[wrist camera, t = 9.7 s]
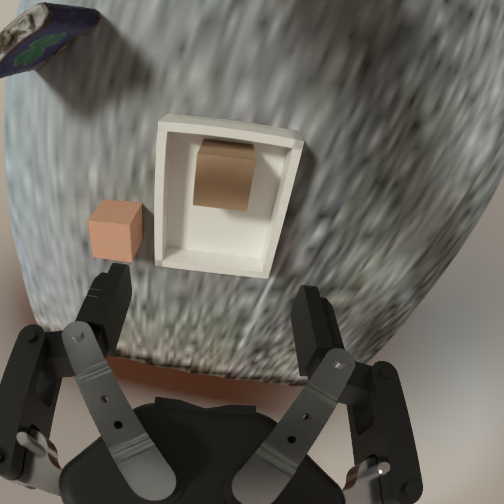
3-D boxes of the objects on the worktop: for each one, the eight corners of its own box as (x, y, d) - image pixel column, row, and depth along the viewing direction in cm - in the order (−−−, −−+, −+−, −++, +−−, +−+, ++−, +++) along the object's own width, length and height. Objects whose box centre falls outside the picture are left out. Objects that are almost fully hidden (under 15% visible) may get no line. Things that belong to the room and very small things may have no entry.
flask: (34, 74, 20) (-37, 96, 12) (26, 53, 18) (-46, 69, 10) (105, 23, 19) (39, 16, 10) (95, 0, 17) (29, -13, 8)
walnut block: (203, 138, 26) (197, 153, 22) (253, 144, 26) (255, 161, 22) (198, 183, 28) (192, 205, 25) (245, 188, 29) (246, 211, 25)
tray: (167, 113, 25) (158, 121, 22) (297, 131, 26) (304, 141, 24) (161, 246, 34) (155, 265, 31) (265, 258, 35) (267, 278, 32)
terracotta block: (104, 199, 30) (87, 220, 26) (142, 202, 30) (129, 225, 27) (107, 233, 32) (93, 257, 29) (142, 237, 33) (132, 262, 29)
